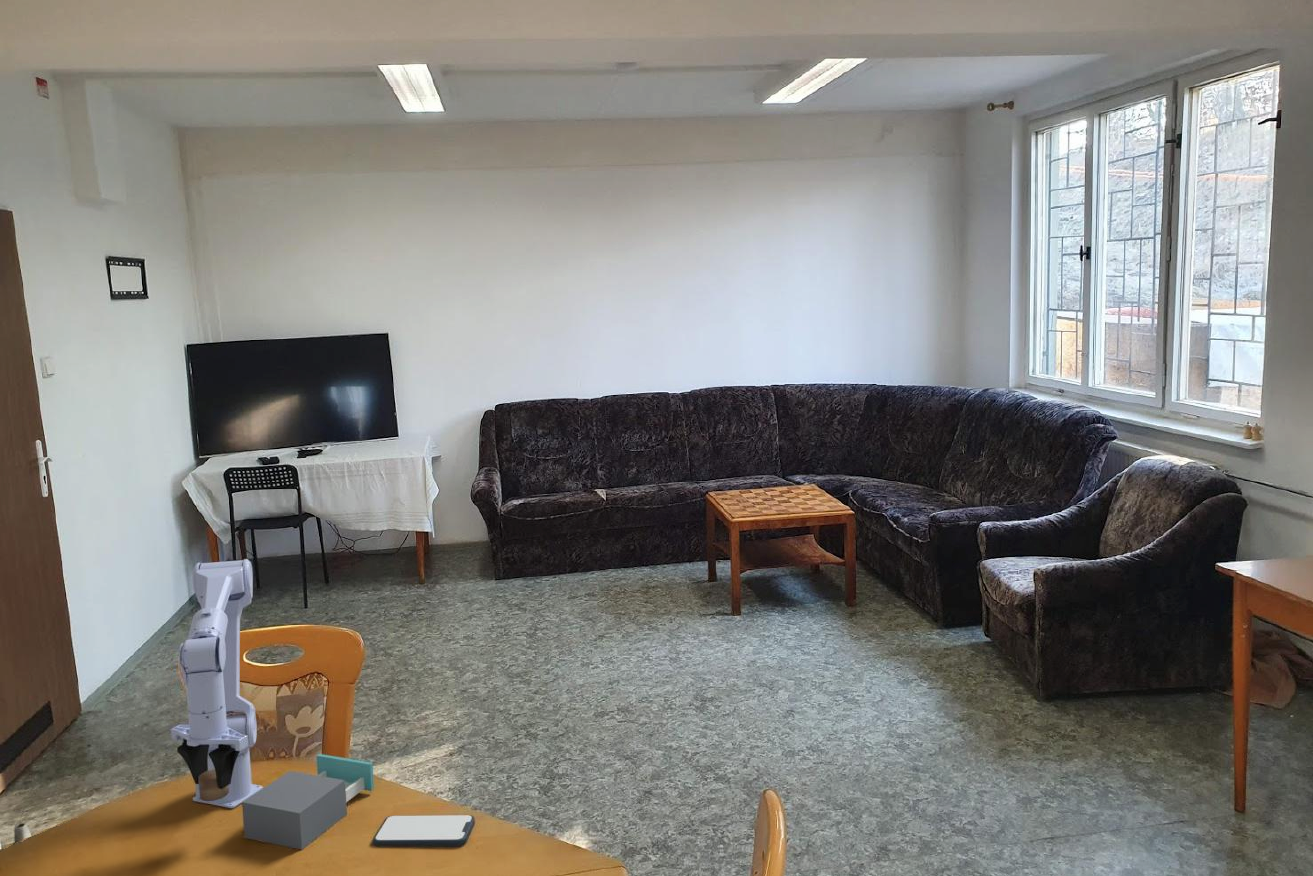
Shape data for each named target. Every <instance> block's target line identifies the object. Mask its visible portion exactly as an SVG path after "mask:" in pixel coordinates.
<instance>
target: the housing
mask: <svg viewBox="0 0 1313 876" xmlns="http://www.w3.org/2000/svg"><path fill="white" fill-rule="evenodd" d="M241 808H242V823H243V835H244V839H249V840H254V841H259V842H263V843H268V844H272V845H278V846H283V847H287V848H288V847H289V848H293V849H298V850H301V851H303V849H304V848H306V847H308V846H309V845H310V844H311V843H313V842H314V841H315V840H316V839H318V838H319V837H320V836H321V835H323V834H324V833H326V832H327V831H328V830H329V829H330V828H332V827H333V826H334V825H335V824H337V823H338V822H339V821H341V820H342V819H343V818H344V817H345V816H347V815H348V809H347V802H346V788H345V780H341V779H335V778H329V777H324V776H318V774H312V773H306V772H300V771H294V770H289V771H287V772H286V773H284V774H283V775H281V776H279V777H277V779H274V780H273V781H272V782H271V783H269V784H267V785H266V786H264V787H263V789H261V790H260V791H258V792H257V793H255V794H254V795H252V796H251V797H249V798H248V799H246V800H244V801H243V802H242V803H241Z"/></svg>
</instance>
